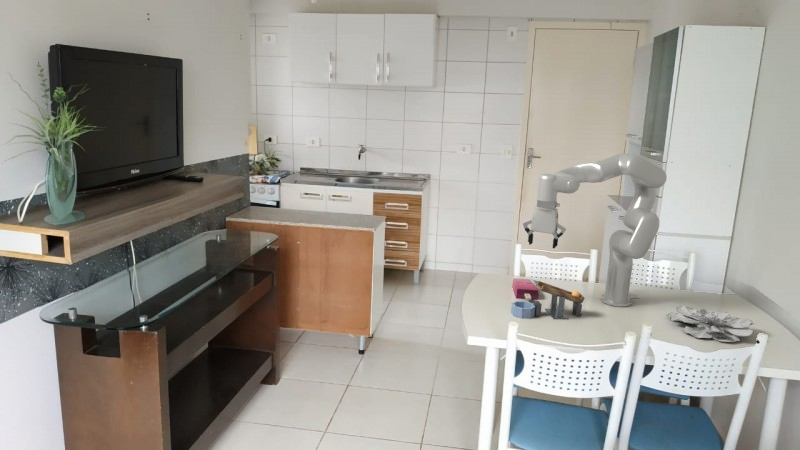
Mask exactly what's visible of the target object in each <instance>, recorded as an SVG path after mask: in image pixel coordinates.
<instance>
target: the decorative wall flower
mask: <svg viewBox="0 0 800 450" xmlns="http://www.w3.org/2000/svg"><path fill="white" fill-rule="evenodd" d="M676 312H678V313H673V312H670V313H668V314H667V315H666V314H665V315H666V317H667V318H668V319H670V321H671V322H680V323H686V324H689V325H695V327H692V326H687V325H685V327H684V328H683V333H685V334H690V336H692V337H694V338H696V339H701V338H702V339H704V338H705V339H713V340H715V341H718V342H721V343H735V342H740V341H741V340H740V338H739V337H743V338H745V337H750V336H751V335H752V334H754V330H753V329H750V328H749V326H752V325H755V323H754V321H753V320H751V319H749V318H742V317H741V318H740V317H736V316H733V317H732V316H730V313H729V312H726V311H719V310H718V311H712V312H710V311H708V310H707V309H704V308H703V309H699V310H698V309H693V308H691V307H688V306H687V305H686V306H685V305H684V304H683V305H681V306H679V307H676Z"/></svg>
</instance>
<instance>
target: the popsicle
mask: <svg viewBox="0 0 800 450" xmlns="http://www.w3.org/2000/svg"><path fill="white" fill-rule="evenodd" d="M531 279H532V278H519V277H518V278H516V277H512V285H511V286H512V287H511V288H513V289H512V292H513V294H514V297H515V299H517V300H528V301H531V300H532V301H539V300H538V299H539V289H538V288H537V286H535V285H534V283H533V282H532V281H531Z"/></svg>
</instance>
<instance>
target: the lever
mask: <svg viewBox="0 0 800 450" xmlns="http://www.w3.org/2000/svg"><path fill="white" fill-rule="evenodd" d="M530 279H531V281H532V282H533V283H534V285H535V286H536V287H537V289H538V291H539V290H540V291H541V292H544V293H547V294H548V295H549V294H550V295H551V296H552V295H555V296H558V297H557V298H559V296H565V300H567V301H571V302H572V303H573V302H575V303H578V304H583V302H584V300H585V297H584V295H582V294H581V293H580V292H579V294H580V297H576V296H573V295H572V292H573V291H569V290H566V289H563V288H561V287H558V286H555V285H551V284H550V283H549V284H548V283H546V282H542V281H541V280H536V279H533V278H530Z"/></svg>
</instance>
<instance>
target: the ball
mask: <svg viewBox="0 0 800 450" xmlns="http://www.w3.org/2000/svg"><path fill="white" fill-rule="evenodd" d="M571 292H572V295H573V296H576V297H580V294H581V293H580V292H579V291H577V290H574V291H571ZM579 293H580V294H579Z"/></svg>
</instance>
